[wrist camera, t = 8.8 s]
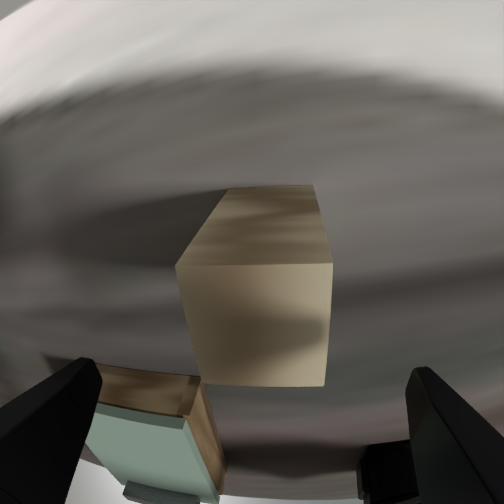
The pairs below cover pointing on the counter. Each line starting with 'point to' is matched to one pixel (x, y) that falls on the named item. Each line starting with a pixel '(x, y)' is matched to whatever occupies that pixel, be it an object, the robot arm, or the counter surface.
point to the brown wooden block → (259, 289)
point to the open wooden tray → (168, 407)
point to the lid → (151, 456)
